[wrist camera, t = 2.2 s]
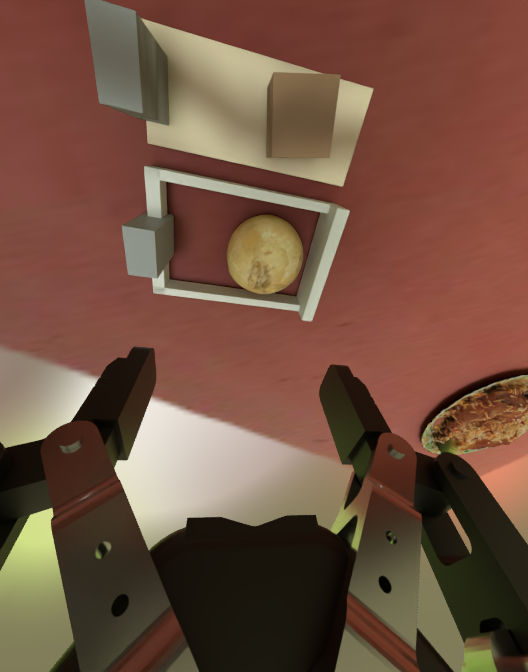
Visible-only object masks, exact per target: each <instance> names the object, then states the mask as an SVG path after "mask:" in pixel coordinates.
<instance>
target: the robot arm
mask: <svg viewBox="0 0 528 672" xmlns="http://www.w3.org/2000/svg"><path fill="white" fill-rule="evenodd" d="M155 383H156V365H155V353H154V349H153V348H146V347H133V348H132V350H131V351H130V353H129V355H128V357H127V358H117V359H116V360H114V361H113V362H112V363H110V364H109V365H108V366H107V367H106V368H105V370H104V372H103V373H102V375H101V378H99V379H98V381H97V382H96V384H95V386H94V387H93V389H92V390H91V392H90V394H89V395H88V397H87V398H86V400H85V401H84V403H83V404H82V406H81V407H80V409H79V411H78V412H77V414H76V415H75V417H74V418H73V420H72V421H71V422H70V423H67V424H65V425H62V426H60V427H59V428H57V429H55V430H54V431H53V432H51V433H50V434H49V435H48V436H47V437H46V438H45V439H42V440H38V441H34V442H30V443H25V444H21V445H16V446H12V447H8V448H5V447H4V446H3V444H1V443H0V570H1V568H2V566H3V565H4V563H5V560H6V559H7V557H8V555H9V553H10V551H11V550H12V547H13V546H14V544H15V542H16V540H17V538H18V536H19V535H20V533H21V531H22V529H23V527H24V525H25V523H26V521H27V519H28V518H29V516H30V515H31V514H34V513H37V512H40V511H43V510H46V509H49V508H53V515H54V516H53V518H52V519H51V527H52V534H53V539H54V544H55V549H56V554H57V559H58V564H59V568H60V574H61V579H62V584H63V589H64V593H65V598H66V603H67V608H68V613H69V618H70V623H71V628H72V633H73V638H74V642H73V643H72V644H71V646H70V647H69V648H68V649H67V651H66V652H65V653H64V654H63V656H62V657H61V658H60V659H59V661H58V662H57V663H56V664H55V665H54V667H53V668H52V669H51V670H50V672H454V671H453V670H452V669H451V668H450V667H449V665H448V664H447V663H446V662H445V661H444V659H443V658H442V657H441V656H440V654H439V653H438V652H437V651H436V650H435V648H434V647H433V646H432V645H431V644H430V643H429V641H428V640H427V639H426V638H425V637H424V635H423V634H422V633H421V632H420V630H419V629H418V628H417V614H418V593H419V572H420V553H421V544H422V547H423V549H424V551H425V554H426V556H427V558H428V561H429V563H430V565H431V567H432V570H433V572H434V574H435V577H436V579H437V581H438V584H439V586H440V588H441V591H442V593H443V595H444V597H445V600H446V602H447V604H448V607H449V609H450V611H451V614H452V616H453V618H454V620H455V623H456V625H457V628H458V630H459V632H460V635H461V637H462V639H463V641H464V659H465V661H464V662H463V664H462V672H528V545H527V543H526V542H525V540H524V539H523V538H522V536H521V535H520V533H519V532H518V530H517V529H516V528H515V526H514V525H513V524H512V522H511V521H510V519H509V518H508V516H507V515H506V514H505V512H504V511H503V510H502V508H501V507H500V505H499V504H498V502H497V501H496V500H495V498H494V497H493V496H492V494H491V493H490V491H489V490H488V488H487V487H486V486H485V484H484V483H483V481H482V480H481V479H480V477H479V476H478V474H477V473H476V471H475V470H474V469H473V468H472V467H471V466H470V465H469V464H468V463H467V462H466V461H465V460H464V459H462V458H461V457H459V456H457V455H455V454H453V453H450V452H442V453H440V454H439V455H438V456H437V457H436V458H433V457H430V456H427V455H424V454H421V453H418V452H415V451H414V450H413V448H412V447H411V445H410V444H409V443H408V442H407V441H406V440H404V439H403V438H402V437H400V436H398V435H396V434H393V433H392V432H391V430H390V429H389V427H388V425H387V423H386V421H385V420H384V418H383V416H382V414H381V413H380V411H379V409H378V407H377V405H376V404H375V402H374V400H373V398H372V397H371V396H370V393H369V391H368V389H367V388H366V386H365V385H364V384H363V383H362V382H361V381H360V380H359V379H358V378H357V377H354V376H353V374H352V373H351V371H350V369H349V367H348V366H343V365H330V366H329V368H328V370H327V373H326V375H325V377H324V379H323V382H322V384H321V386H320V391H319V396H320V401H321V404H322V407H323V410H324V413H325V415H326V418H327V421H328V424H329V427H330V430H331V433H332V436H333V439H334V442H335V445H336V448H337V451H338V454H339V457H340V460H341V463H342V464H349V465H353V468H354V471H353V472H352V475H351V477H350V481H349V484H348V487H347V490H346V493H345V496H344V499H343V502H342V506H341V509H340V512H339V514H338V517H337V519H336V520H335V522H334V524H333V526H332V528H331V531H330V530H328V529H326V528H324V527H322V526H320V525H318V523H317V518H316V515H292V516H284V517H281V518H278V519H276V520H273V521H270V522H267V523H265V524H262V525H259V526H250V525H246V524H243V523H239V522H236V521H233V520H229V519H226V518H222V517H204V518H187V525H186V527H185V528H183V529H180V530H177V531H175V532H173V533H171V534H169V535H168V536H166V537H165V538H163V539H162V540H160V541H159V542H158V543H157V544H155V545H154V546H153V547H152V548H151V549H150V550H148V548H147V545H146V543H145V540H144V538H143V536H142V533H141V531H140V528H139V526H138V523H137V521H136V518H135V516H134V513H133V511H132V509H131V506H130V504H129V501H128V499H127V496H126V494H125V492H124V489H123V487H122V484H121V482H120V480H119V479H118V477H117V475H116V472H115V470H114V467H115V465H116V462H117V460H128V457H129V455H130V452H131V449H132V447H133V444H134V441H135V438H136V436H137V433H138V430H139V428H140V425H141V422H142V420H143V417H144V414H145V412H146V409H147V406H148V404H149V401H150V398H151V396H152V393H153V390H154V387H155ZM451 508H452V509H453V511H454V513H455V515H456V517H457V518H458V520H459V522H460V524H461V526H462V527H463V529H464V531H465V533H466V534H467V536H468V538H469V540H470V543H471V546H472V552H471V554H470V553H469V551H468V549H467V547H466V546H465V544H464V542H463V540H462V538H461V537H460V535H459V533H458V531H457V529H456V527H455V525H454V524H453V522H452V520H451V518H450V516H449V514H448V513H447V511H449V510H450V509H451Z"/></svg>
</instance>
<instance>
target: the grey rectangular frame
mask: <svg viewBox="0 0 528 672" xmlns="http://www.w3.org/2000/svg"><path fill="white" fill-rule="evenodd" d="M144 173H145V186H146V199H147V212H145V213H143V214H142V215H140V216H138V217H136V218H135V219H133V220H131V221H129V222H127V223H126V224H124V225H122V231H123V239H124V247H125V254H126V262H127V269H128V275H134V276H142V277H149V278H152V280H153V293H157V294H165V295H173V296H181V297H189V298H197V299H205V300H213V301H221V302H229V303H237V304H245V305H253V306H261V307H269V308H277V309H285V310H293V311H299V314H300V317H301V319H302V320H304V321H312V319H313V316H314V313H315V311H316V308H317V305H318V302H319V299H320V296H321V293H322V290H323V287H324V284H325V282H326V279H327V276H328V273H329V270H330V267H331V264H332V261H333V258H334V255H335V253H336V250H337V247H338V244H339V241H340V238H341V235H342V232H343V229H344V227H345V224H346V221H347V218H348V215H349V212H350V211H349V210H347V209H345V208H343V207H341V206H339V205H337V204H334V203H330V202H325V201H320V200H315V199H311V198H306V197H301V196H296V195H291V194H287V193H282V192H277V191H272V190H267V189H263V188H258V187H253V186H248V185H243V184H239V183H234V182H229V181H224V180H219V179H215V178H210V177H205V176H200V175H195V174H191V173H186V172H181V171H176V170H172V169H167V168H162V167H157V166H144ZM166 181H167V182H172V183H177V184H182V185H187V186H192V187H197V188H202V189H207V190H212V191H217V192H222V193H227V194H232V195H237V196H242V197H247V198H252V199H257V200H262V201H267V202H272V203H277V204H282V205H287V206H292V207H297V208H302V209H307V210H312V211H317V212H320V215H319V219H318V222H317V226H316V229H315V233H314V236H313V240H312V243H311V247H310V250H309V254H308V257H307V261H306V264H305V268H304V271H303V275H302V279H301V282H300V286H299V289H298V293H297V296H289V295H282V294H274V293H272V294H257V293H254V292H251V291H249V290H245V289H237V288H230V287H223V286H215V285H208V284H201V283H193V282H186V281H178V280H171V279H170V278H169V261H170V260H171V258H172V257H173V255H174V215H171V214H167V189H166Z"/></svg>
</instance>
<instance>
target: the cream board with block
mask: <svg viewBox="0 0 528 672" xmlns="http://www.w3.org/2000/svg"><path fill="white" fill-rule="evenodd" d="M85 7H86V14H87V21H88V28H89V35H90V42H91V49H92V56H93V63H94V70H95V77H96V84H97V91H98V98H99V103H101V104H103V105H106V106H108V107H111V108H113V109H116V110H118V111H121V112H123V113H126V114H128V115H131V116H133V117H136V118H138V119H142V120H146V123H147V139H148V143H149V144H153V145H158V146H162V147H167V148H171V149H176V150H180V151H185V152H189V153H194V154H198V155H203V156H207V157H212V158H216V159H221V160H225V161H230V162H234V163H239V164H243V165H248V166H252V167H257V168H261V169H266V170H270V171H275V172H279V173H283V174H288V175H292V176H297V177H301V178H306V179H310V180H315V181H319V182H324V183H328V184H333V185H337V186H342V187H343V184H344V181H345V178H346V175H347V172H348V168H349V165H350V162H351V159H352V156H353V152H354V149H355V146H356V143H357V140H358V137H359V133H360V130H361V127H362V124H363V121H364V118H365V114H366V111H367V108H368V105H369V102H370V98H371V95H372V92H373V89H372V88H369V87H365V86H362V85H359V84H356V83H352V82H349V81H346V80H342V79H340V84H339V92H338V99H337V107H336V114H335V122H334V129H333V137H332V144H331V152H330V158H266V140H267V87H268V85H269V82H270V80H271V77H272V75H273V72H287V73H313V74H323V73H319V72H316V71H313V70H309V69H306V68H303V67H299V66H296V65H293V64H290V63H286V62H283V61H280V60H276V59H273V58H270V57H266V56H263V55H260V54H257V53H253V52H250V51H247V50H243V49H240V48H237V47H233V46H230V45H227V44H224V43H220V42H217V41H214V40H210V39H207V38H204V37H200V36H197V35H194V34H191V33H187V32H184V31H181V30H177V29H174V28H171V27H167V26H164V25H161V24H158V23H154V22H151V21H148V20H144V19H141V18H140V17H139V15H138V14H137V12H136V11H134V10H131V9H127V8H124V7H121V6H118V5H114V4H111V3H108V2H105V1H101V0H85Z"/></svg>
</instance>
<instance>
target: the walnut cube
mask: <svg viewBox="0 0 528 672" xmlns="http://www.w3.org/2000/svg"><path fill="white" fill-rule="evenodd" d="M340 77H341V75H340V74H313V73H287V72H273V75H272V77H271V80H270V82H269V85H268V87H267V140H266V158H330V152H331V144H332V137H333V129H334V122H335V114H336V107H337V99H338V92H339V84H340Z"/></svg>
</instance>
